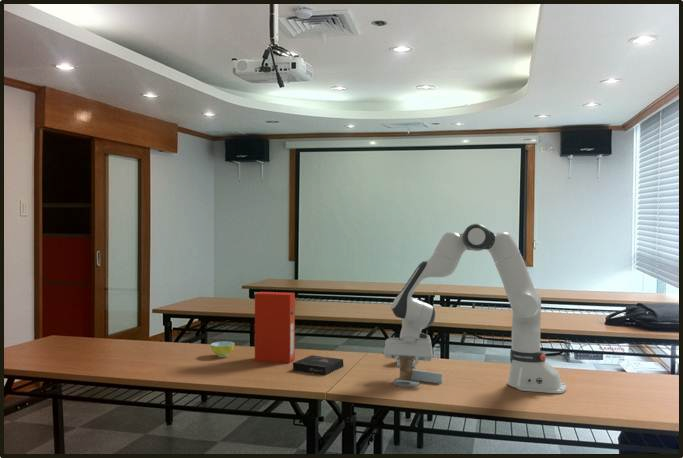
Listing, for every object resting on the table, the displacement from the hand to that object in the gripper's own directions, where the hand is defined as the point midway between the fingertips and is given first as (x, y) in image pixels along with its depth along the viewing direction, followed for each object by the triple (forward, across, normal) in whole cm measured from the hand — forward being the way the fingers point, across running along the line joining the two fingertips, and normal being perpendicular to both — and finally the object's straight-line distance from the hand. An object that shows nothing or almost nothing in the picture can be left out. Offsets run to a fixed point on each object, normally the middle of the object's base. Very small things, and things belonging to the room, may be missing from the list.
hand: (406, 367), depth 230 cm
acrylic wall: (0, +5, +9) cm, 10 cm away
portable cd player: (-3, -42, +14) cm, 44 cm away
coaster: (+4, 0, +5) cm, 7 cm away
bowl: (-10, -94, +19) cm, 96 cm away
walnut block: (+3, 0, +4) cm, 5 cm away
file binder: (-10, -67, +19) cm, 70 cm away
